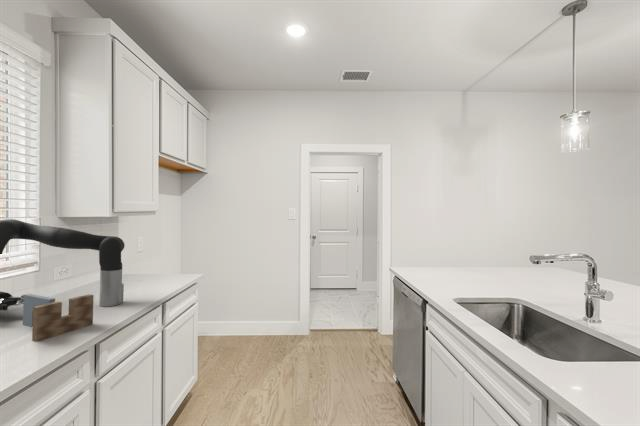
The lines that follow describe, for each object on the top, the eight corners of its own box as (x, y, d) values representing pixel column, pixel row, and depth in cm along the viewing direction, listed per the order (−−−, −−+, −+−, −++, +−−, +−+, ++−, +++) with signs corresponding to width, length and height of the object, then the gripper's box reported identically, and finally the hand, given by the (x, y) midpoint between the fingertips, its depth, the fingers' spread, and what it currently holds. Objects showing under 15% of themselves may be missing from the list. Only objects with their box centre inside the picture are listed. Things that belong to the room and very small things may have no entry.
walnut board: (88, 323, 137) (89, 294, 137) (92, 324, 136) (93, 294, 136) (32, 340, 119) (33, 306, 118) (36, 341, 118) (37, 307, 118)
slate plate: (28, 323, 135) (29, 293, 135) (54, 329, 130) (55, 298, 129) (22, 324, 133) (23, 294, 133) (48, 331, 128) (49, 299, 128)
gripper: (-26, 295, 135) (-3, 300, 129) (16, 287, 148) (39, 292, 143) (-27, 313, 135) (-3, 319, 129) (16, 304, 148) (39, 309, 143)
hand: (19, 305), depth 136 cm, fingers open, 8 cm apart
